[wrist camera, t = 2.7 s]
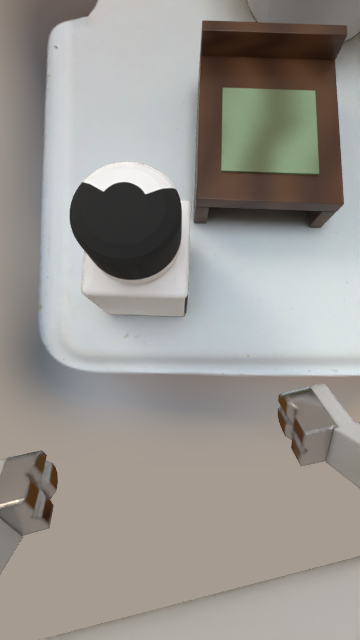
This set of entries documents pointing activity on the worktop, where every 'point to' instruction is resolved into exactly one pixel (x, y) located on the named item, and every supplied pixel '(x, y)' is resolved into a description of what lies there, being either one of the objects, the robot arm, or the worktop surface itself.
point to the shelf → (268, 119)
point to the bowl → (309, 12)
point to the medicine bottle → (133, 240)
